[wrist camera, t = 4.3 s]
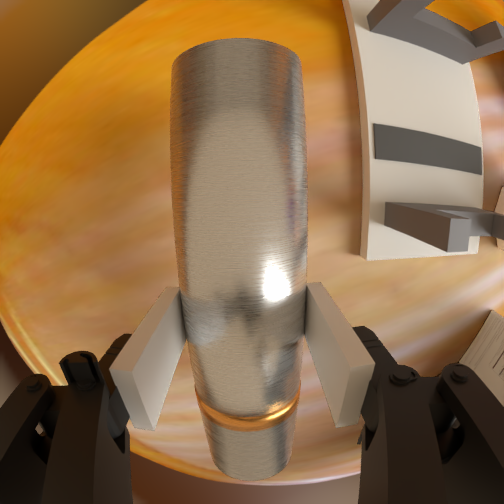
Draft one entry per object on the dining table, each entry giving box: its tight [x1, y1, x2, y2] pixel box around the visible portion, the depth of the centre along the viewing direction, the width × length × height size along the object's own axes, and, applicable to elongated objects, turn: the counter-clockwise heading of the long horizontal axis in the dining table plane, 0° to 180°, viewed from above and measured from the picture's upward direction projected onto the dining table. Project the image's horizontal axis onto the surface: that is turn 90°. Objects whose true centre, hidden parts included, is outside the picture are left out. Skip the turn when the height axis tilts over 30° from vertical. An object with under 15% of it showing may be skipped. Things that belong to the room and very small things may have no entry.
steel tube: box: [170, 38, 308, 481], centre depth 13 cm, size 24×6×6 cm, turn 2°
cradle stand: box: [342, 0, 504, 261], centre depth 15 cm, size 26×15×10 cm, turn 2°
